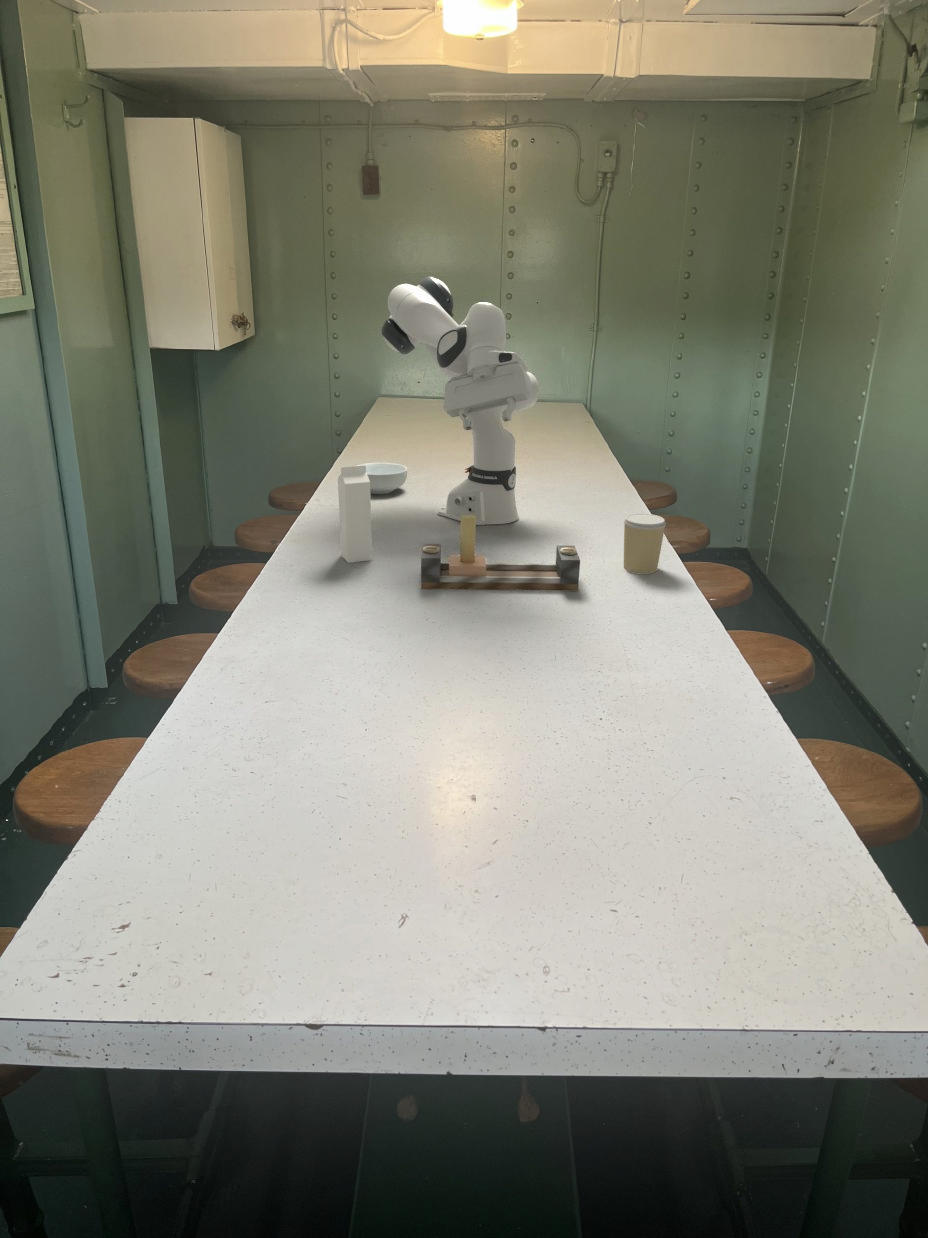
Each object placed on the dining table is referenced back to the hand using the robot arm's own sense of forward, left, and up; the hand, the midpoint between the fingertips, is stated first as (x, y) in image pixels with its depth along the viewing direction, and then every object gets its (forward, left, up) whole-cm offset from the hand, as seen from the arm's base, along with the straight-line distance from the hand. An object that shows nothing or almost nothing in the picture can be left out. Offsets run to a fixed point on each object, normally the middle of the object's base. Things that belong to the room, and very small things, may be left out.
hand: (486, 424), depth 193 cm
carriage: (+4, -12, -31) cm, 33 cm away
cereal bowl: (-62, +38, -33) cm, 79 cm away
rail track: (+9, -8, -32) cm, 35 cm away
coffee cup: (+31, +19, -33) cm, 49 cm away
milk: (-27, -14, -33) cm, 44 cm away
